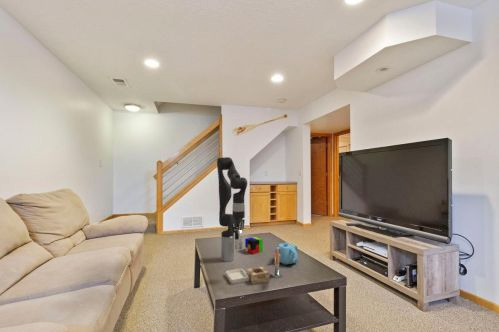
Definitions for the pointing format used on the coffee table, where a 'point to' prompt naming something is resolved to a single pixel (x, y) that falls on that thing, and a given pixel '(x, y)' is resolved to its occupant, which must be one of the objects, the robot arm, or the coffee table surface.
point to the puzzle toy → (254, 245)
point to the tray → (237, 276)
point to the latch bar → (277, 256)
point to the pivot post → (277, 272)
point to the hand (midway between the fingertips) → (238, 237)
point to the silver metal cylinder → (239, 241)
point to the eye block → (258, 275)
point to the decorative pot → (287, 253)
